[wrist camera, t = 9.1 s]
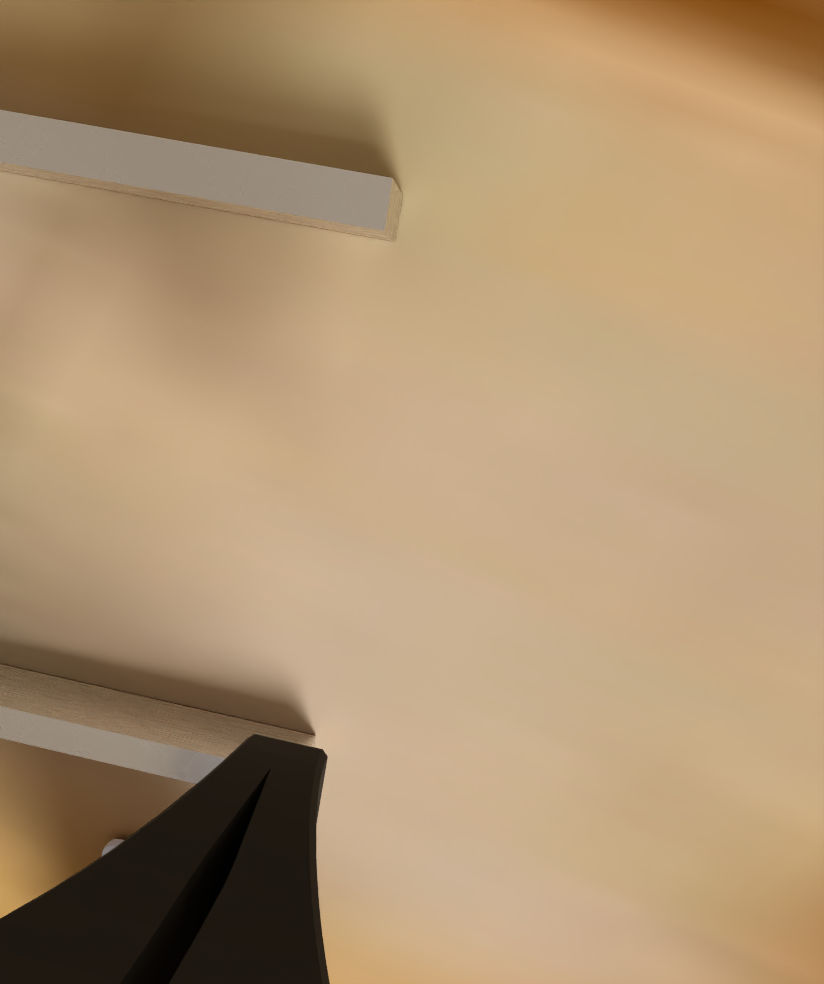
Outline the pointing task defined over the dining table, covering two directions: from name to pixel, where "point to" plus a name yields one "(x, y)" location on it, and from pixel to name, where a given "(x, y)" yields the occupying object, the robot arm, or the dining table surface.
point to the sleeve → (206, 183)
